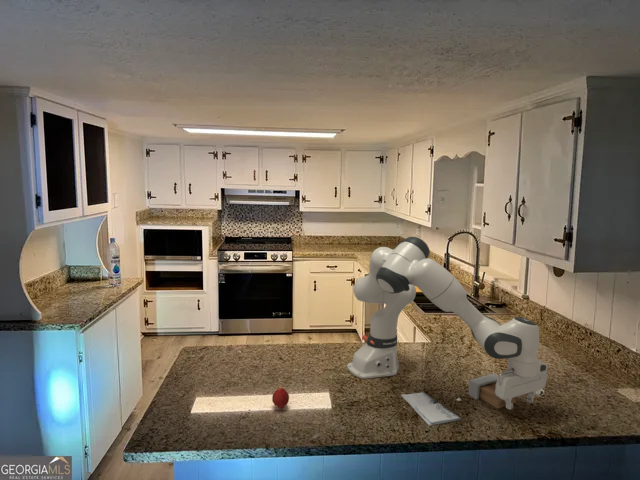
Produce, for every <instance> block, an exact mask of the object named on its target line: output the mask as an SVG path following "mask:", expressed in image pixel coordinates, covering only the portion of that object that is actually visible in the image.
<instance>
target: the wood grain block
mask: <svg viewBox="0 0 640 480" xmlns="http://www.w3.org/2000/svg"><path fill="white" fill-rule="evenodd" d="M495 388H496V382H493V383H490V384H486V385H483V386H480V389H479V399H481V400H483V401H484V402H485V403H487V404H489V405H491V406H492V407H494V408H495V409H501V408H503V407H504V408H505V407H506V402H505V400H503V399H501V398H499V397H497V396H496V394H495ZM510 401H511V403H512V404H513V405H514V404H516V403H517V397H513V398H512V400H510Z"/></svg>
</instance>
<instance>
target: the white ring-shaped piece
mask: <svg viewBox="0 0 640 480" xmlns="http://www.w3.org/2000/svg"><path fill="white" fill-rule="evenodd" d="M541 392H543V393H542V394H541ZM544 394H545V390H543V389H540V390H537V391H536V394H535V395H541V396H543V395H544Z"/></svg>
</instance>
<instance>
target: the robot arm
mask: <svg viewBox="0 0 640 480" xmlns="http://www.w3.org/2000/svg"><path fill="white" fill-rule="evenodd" d="M430 252H431V249H430V248H429V246H428V244H427V243H426V242H425V241H424V240H423V239H421V238H419V237H417V236H408V237H407V238H404V239H403V240H402V241H400V242H397V246H396V247H395V248H394V249H392V248H390V247H387V246H380V247H377V248H376V249H374V250H373V252H372V254H371V256H370V259H369V266H368V269H369V273H368V274H367V275H365V276H363V277H359V278H358V279H356V280H355V283H354V285H353V294H354V297H355V298H356V300H357V301H361V302H364V303H368V304H381V305H382V304H384V305H385V307H383V308H382V309H379V310H377V311H375V312H374V313H372V315H371V316H370V322H369V323H370V325H369V326H370V333H369V334H368V336H367V335H366V334H362V336H361V339H362V340H364V341H365V344H363V345H362V346H361V347H360V348H359V349H357V351H355V352H354V354H353V357H352V361H351V362H348V363H347V365H346V368H347V370H348V371H349V372H350V373H351V374H352V375H354V376H355V377H357V378H359V379H363V380H364V379H365V380H366V379H367V380H368V379H376V378H385V377H389V376H390V377H391V376H397V374H398V371H399V370H400V364H399V359H398V351H397V345H398V333H397V328H398V327H397V326H398V321H399V316H400V314H401V313H402V311H403V310H404V309H405V307H407V306H408V305H410V304H411V303H413V301H414V300H415V298H416V294H417V289H416V288H418V290H420V291H421V293H422V294H423V295H424V296H425V297H426V298H427V299H428V300H429V301H430V302H431V303H432V304H434V305H435V306H436V307H438V308H439V309H440V310H442V311H443V312H446V313H447V312H448V313H451V312H452V313H454V314H455V315H457V317H459V318H460V319H461V320H462V321H463V322H464V323H465V324H466V325H467V326H468V327H469V328H470V332H471V334H472V336H473V338H474V340H475V341H476V342H477V343H478V344H479V346H480V347H481V348H482V349H483V350H484V352H485V353H486V354H487V355H488V356H489V357H491V358H492V359H493V358H494V359H496V360H503V359H507V367H506V368H507V369H506V370H505V369H504V370H502V371H501V373H500V374H498V378H497V382H496V388H495V394H496V396H497V397H499V398H501V399H503V400H505V402H506V406H505V408H506V409H507V410H510V411H511V410H513V409H514V403H513V404H512V403H511V401H510V400H512V398H513V397H516V398H517V397H520V396H523V395H526V394H527V396H525V402H526V403H528V404H532V403H534V398H535V396H536V395H537V394H536V391H537V390H540V389H542V390H543V389H545V387H546V385H547V376H548V375H547V374H548V373H547V370H548V368H549V365H548V364H547V363H545V362H543V361H540V360H539V357H538V351H539V349H540V329H539V326H538V324H537V323H536V322H534V321H533V320H531V319H528V318H526V317H523V316H515V317H513V318H512V319H511V320H509V321H508V322H506V323H503V324H500V322H499V321H497V319H495V318H493V317H490V316H487V315H485V314H483V313H482V312H480V311H479V310H478V309H477V307H476V306H474V305H473V304H472V302H470V301H469V299H468V298H467V291H466V289H465V288H464V286H463V285H462V284H461V282H460V281H459V280H458V279H457V278H456V276H455V275H453V274H452V273H451V272H450V271H449V270H447V268H445V267H444V266H443V265H442V264H441V263H439V262H438V261H436V260H434V259H433V258H430V257H429V256H430Z"/></svg>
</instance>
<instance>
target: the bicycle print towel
mask: <svg viewBox="0 0 640 480" xmlns="http://www.w3.org/2000/svg"><path fill="white" fill-rule="evenodd" d="M401 398H402V399H403V400H405V401H406V402H407V403H408V405H410V406H411V407H412V409H413V410H414V411H415V412H416V413H417V415H419V416H420V417H421V419H423V421H424V422H425V423H426V425H428V426H433V425H434V426H435V425H440V424H445V423H449V422H450V423H451V422H456V421H461V420H463V417H460V416H459V415H458V414H456V413H455V412H453V411H451V409H449V408H448V407H446V406H445V405H443V404H442V403H440V402H439V401H438V400H436V399H435V398H434V397H431V396H430V395H428V394H427V393H426V392H425V391H423V392H417V393H415V392H414V393H408V394H404V393H403V394H401ZM455 400H456V401H458V402H459V401H461V402H462V399H461V397H458V398H457V399H455Z"/></svg>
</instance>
